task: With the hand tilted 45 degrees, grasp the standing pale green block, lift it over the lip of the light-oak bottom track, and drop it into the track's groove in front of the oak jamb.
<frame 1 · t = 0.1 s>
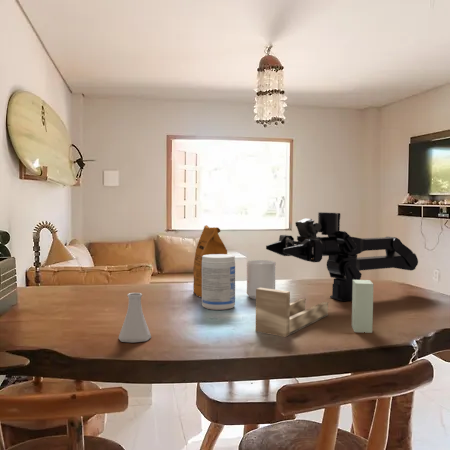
hand: (274, 249, 134), 17 cm above the table, tool horizontal, fingers open, 9 cm apart
track: (295, 321, 119), on the table
supplement tub: (218, 307, 134), on the table
flask: (135, 339, 104), on the table
coffee package: (209, 295, 150), on the table
mug: (260, 296, 149), on the table
pale green block: (361, 329, 112), on the table
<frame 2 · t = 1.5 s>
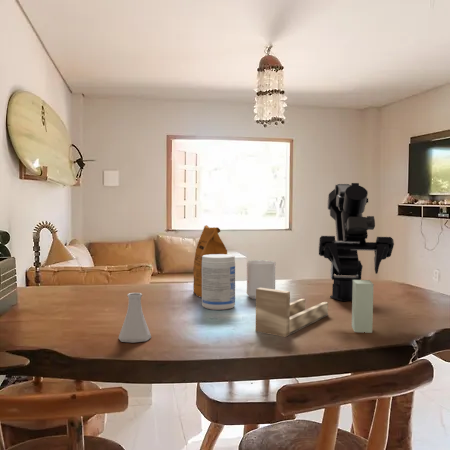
hand: (357, 272, 119), 13 cm above the table, tool tilted 45°, fingers open, 9 cm apart
nothing on the table moved.
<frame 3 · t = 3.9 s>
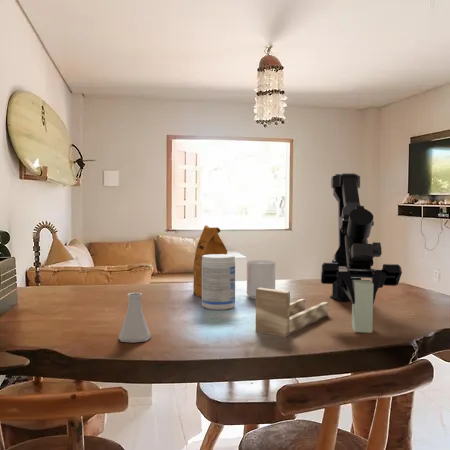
hand: (363, 303, 111), 7 cm above the table, tool tilted 45°, fingers closed on pale green block, 4 cm apart
pale green block: (361, 329, 112), on the table, touching gripper
everything else where it was.
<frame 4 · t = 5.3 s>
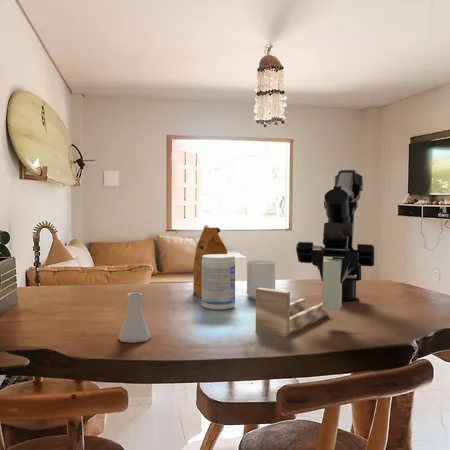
hand: (331, 281, 112), 11 cm above the table, tool tilted 45°, fingers closed on pale green block, 4 cm apart
pale green block: (332, 307, 114), point 5 cm above the table, touching gripper
everything else where it was.
when the fingers open (8 cm above the table, at t = 7.1 s): pale green block stays where it is, resting on track.
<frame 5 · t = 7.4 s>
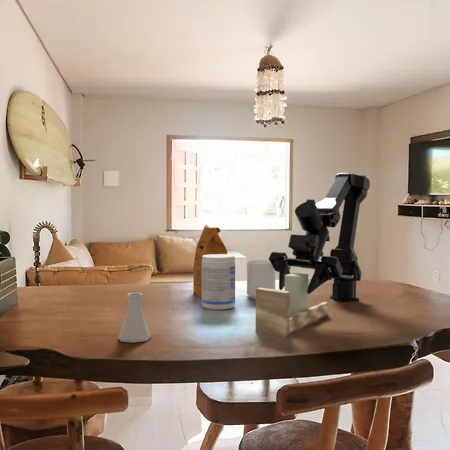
hand: (293, 291, 117), 8 cm above the table, tool tilted 45°, fingers open, 7 cm apart
pale green block: (295, 319, 119), resting on track
everything else where it was.
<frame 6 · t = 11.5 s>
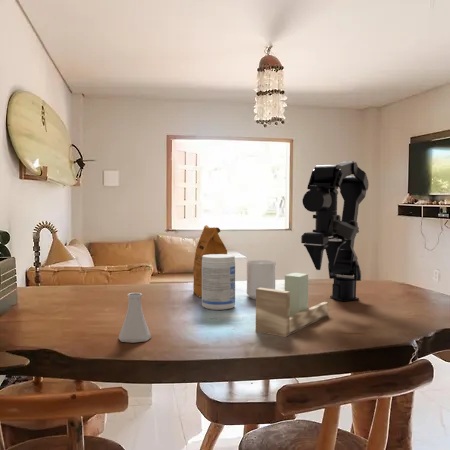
hand: (325, 267, 129), 12 cm above the table, tool pointing down, fingers open, 9 cm apart
nothing on the table moved.
at the end: pale green block 0.0 cm from the track (horizontally); pale green block point 0.5 cm above the table; pale green block tilted 0° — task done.
